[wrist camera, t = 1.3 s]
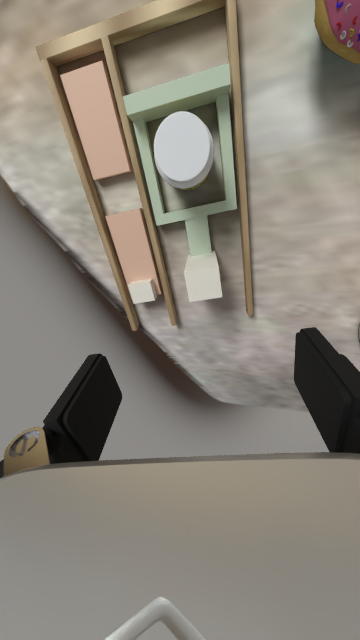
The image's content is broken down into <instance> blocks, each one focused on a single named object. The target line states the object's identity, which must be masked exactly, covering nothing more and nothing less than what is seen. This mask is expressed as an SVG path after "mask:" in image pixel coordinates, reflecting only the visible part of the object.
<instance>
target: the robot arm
mask: <svg viewBox="0 0 360 640" xmlns="http://www.w3.org/2000/svg"><path fill="white" fill-rule="evenodd" d="M359 339H360V326H359ZM294 381H295V384H296V386H297V388H298V390H299V392H300V394H301V396H302V398H303V400H304V402H305V404H306V406H307V408H308V410H309V412H310V414H311V416H312V418H313V420H314V422H315V424H316V426H317V428H318V430H319V432H320V434H321V436H322V438H323V440H324V442H325V444H326V446H327V448H328V450H329V452H327V453H326V452H321V453H274V454H247V455H219V456H193V457H171V458H170V457H169V458H145V459H125V460H103V461H98V460H99V458H100V455H101V453H102V450H103V447H104V445H105V442H106V439H107V437H108V434H109V432H110V429H111V426H112V424H113V421H114V418H115V416H116V413H117V410H118V408H119V405H120V403H121V400H122V393H121V391H120V388H119V386H118V384H117V382H116V379H115V377H114V375H113V372H112V370H111V368H110V365H109V363H108V361H107V359H106V357H105V356H103V355H102V354H93V355H89V356H88V357H87V358H86V360H85V361H84V363H83V364H82V366H81V367H80V369H79V370H78V372H77V373H76V374H75V376H74V377H73V379H72V380H71V382H70V383H69V384H68V386H67V387H66V389H65V390H64V392H63V393H62V395H61V396H60V398H59V399H58V400H57V402H56V404H55V405H54V406H53V408H52V409H51V410H50V412H49V413H48V415H47V416H46V418H45V419H44V421H43V422H44V424H45V425H44V427H43V428H40V427H33V428H30V429H28V430H25V431H24V432H22V433H21V434H19V435H18V436H17V437H16V438H14V439H13V440H12V442H11V443H10V444H9V445H8V447H7V448H6V450H5V454H4V459H3V460H2V461H1V462H0V640H360V372H359V371H358V370H357V369H356V367H355V366H354V365H353V364H352V363H351V362H350V361H349V360H348V359H347V357H345V356H344V355H342V354H339V353H338V352H337V351H336V350H335V349H334V348H333V347H332V345H331V344H330V343H329V342H328V341H327V340H326V339H325V337H324V336H323V335H322V334H321V333H320V332H319V331H318V329H317V328H315V327H313V328H305V329H301V330H300V332H299V333H296V345H295V366H294Z"/></svg>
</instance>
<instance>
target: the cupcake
mask: <svg viewBox="0 0 360 640" xmlns="http://www.w3.org/2000/svg"><path fill="white" fill-rule="evenodd" d="M315 6H316V7H315V20H314V21H315V27H316V29H317V32H318V34H319V36H320V38H321V40H322V41H323V42H324V43H325V45H326V46H327V47H328V48H329V49H330V50H332V51H333V52H335V53H336V54H338V55H339V56H341V57H343V58H345V59H347V60H348V61H350V62H352V63H355V64H360V0H315Z"/></svg>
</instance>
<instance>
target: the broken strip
mask: <svg viewBox="0 0 360 640" xmlns="http://www.w3.org/2000/svg"><path fill="white" fill-rule="evenodd" d="M60 77H61V80H62V83H63V86H64V89H65V92H66V95H67V98H68V102H69V105H70V108H71V111H72V114H73V117H74V120H75V123H76V127H77V130H78V133H79V136H80V139H81V142H82V145H83V148H84V151H85V155H86V158H87V161H88V164H89V167H90V170H91V173H92V176H93V180H97V181H98V180H102V179H106V178H110V177H113V176H117V175H121V174H125V173H129V172H133V171H132V167H131V163H130V159H129V155H128V151H127V147H126V143H125V139H124V135H123V131H122V127H121V123H120V119H119V115H118V111H117V107H116V103H115V99H114V95H113V91H112V87H111V83H110V79H109V75H108V71H107V67H106V65H105V64H104V63H103V61H99V62H96V63H93V64H90V65H88V66H85V67H82V68H79V69H76V70H73V71H71V72H68V73H65V74H62V75H60ZM105 217H106V220H107V223H108V226H109V229H110V233H111V236H112V239H113V242H114V245H115V248H116V251H117V254H118V258H119V261H120V264H121V267H122V270H123V273H124V276H125V279H126V282H127V286H128V289H129V292H130V295H131V298H132V300H133V303H134V304H135V303H142V302H149V301H155V299H156V297H157V295H158V294H161V293H162V288H161V284H160V280H159V276H158V272H157V268H156V264H155V260H154V256H153V252H152V248H151V244H150V240H149V236H148V232H147V228H146V224H145V220H144V216H143V212H142V208H140V209H135V210H131V211H127V212H122V213H118V214H113V215H109V216H105Z"/></svg>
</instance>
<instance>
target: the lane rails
mask: <svg viewBox="0 0 360 640" xmlns="http://www.w3.org/2000/svg"><path fill="white" fill-rule="evenodd" d="M224 6H225V15H226V30H227V44H228V58H229V68H230V82H231V85H230V86H231V101H232V115H233V129H234V143H235V157H236V171H237V186H238V200H239V214H240V228H241V242H242V257H243V271H244V285H245V299H246V311H247V314H248V316H249V315H253V303H252V285H251V267H250V249H249V231H248V213H247V195H246V177H245V159H244V141H243V124H242V106H241V88H240V70H239V52H238V34H237V16H236V0H157V1H154V2H152V3H149V4H147V5H144V6H141V7H139V8H136V9H134V10H131V11H128V12H126V13H123V14H120V15H118V16H115V17H113V18H110V19H107V20H105V21H102V22H100V23H97V24H94V25H92V26H89V27H87V28H84V29H81V30H79V31H76V32H74V33H71V34H68V35H66V36H63V37H61V38H58V39H55V40H53V41H50V42H48V43H45V44H42V45H40V46H37V47H36V50H37V53H38V56H39V59H40V62H41V65H42V67H43V70H44V73H45V76H46V79H47V82H48V85H49V88H50V91H51V94H52V97H53V100H54V102H55V105H56V108H57V111H58V114H59V117H60V120H61V123H62V126H63V129H64V132H65V135H66V138H67V140H68V143H69V146H70V149H71V152H72V155H73V158H74V161H75V164H76V167H77V170H78V173H79V175H80V178H81V181H82V184H83V187H84V190H85V193H86V196H87V199H88V202H89V205H90V208H91V210H92V213H93V216H94V219H95V222H96V225H97V228H98V231H99V234H100V237H101V240H102V243H103V246H104V248H105V251H106V254H107V257H108V260H109V263H110V266H111V269H112V272H113V275H114V278H115V281H116V283H117V286H118V289H119V292H120V295H121V298H122V301H123V304H124V307H125V310H126V313H127V316H128V318H129V321H130V324H131V327H132V330H133V331H135V330H137V329H138V327H139V322H138V319H137V316H136V313H135V310H134V306H133V303H132V300H131V297H130V294H129V291H128V288H127V285H126V282H125V279H124V275H123V272H122V269H121V266H120V263H119V260H118V257H117V254H116V251H115V247H114V244H113V241H112V238H111V235H110V232H109V229H108V226H107V223H106V220H105V216H104V213H103V210H102V207H101V204H100V201H99V198H98V195H97V192H96V189H95V185H94V182H93V179H92V176H91V173H90V170H89V167H88V164H87V161H86V157H85V154H84V151H83V148H82V145H81V142H80V139H79V136H78V133H77V130H76V126H75V123H74V120H73V117H72V114H71V111H70V108H69V105H68V102H67V98H66V95H65V92H64V89H63V86H62V83H61V80H60V77H59V74H58V71H57V67H58V66H61V65H63V64H66V63H69V62H72V61H74V60H77V59H80V58H83V57H85V56H88V55H91V54H94V53H97V52H99V51H102V50H104V53H105V57H106V61H107V65H108V69H109V73H110V77H111V81H112V85H113V89H114V93H115V97H116V101H117V105H118V109H119V113H120V117H121V121H122V125H123V130H124V134H125V138H126V142H127V146H128V150H129V154H130V158H131V162H132V166H133V170H134V174H135V178H136V182H137V186H138V190H139V194H140V198H141V202H142V207H143V211H144V215H145V219H146V223H147V227H148V231H149V235H150V239H151V243H152V247H153V251H154V255H155V259H156V263H157V267H158V271H159V275H160V279H161V283H162V288H163V292H164V296H165V300H166V304H167V308H168V312H169V316H170V320H171V324H172V326H173V325H176V324H177V316H176V312H175V307H174V303H173V299H172V294H171V290H170V286H169V281H168V277H167V273H166V268H165V264H164V260H163V256H162V251H161V247H160V243H159V238H158V234H157V230H156V225H155V221H154V217H153V212H152V208H151V204H150V199H149V195H148V191H147V186H146V182H145V178H144V173H143V169H142V165H141V160H140V156H139V152H138V147H137V143H136V139H135V134H134V130H133V126H132V121H131V119H130V118H129V117H128V116H127V113H126V109H125V105H124V100H123V96H126V95H125V91H124V87H123V82H122V78H121V74H120V69H119V65H118V61H117V56H116V52H115V48H114V46H116V45H119V44H122V43H124V42H127V41H130V40H133V39H135V38H138V37H141V36H144V35H147V34H149V33H152V32H155V31H158V30H160V29H163V28H166V27H169V26H171V25H174V24H177V23H180V22H183V21H185V20H188V19H191V18H194V17H196V16H199V15H202V14H205V13H208V12H210V11H213V10H216V9H219V8H221V7H224Z"/></svg>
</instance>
